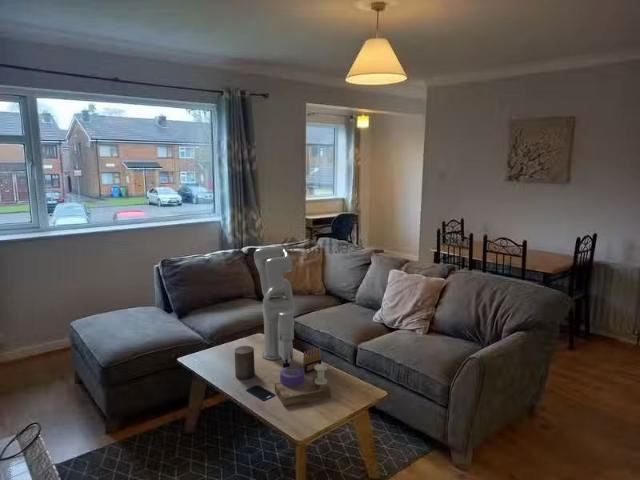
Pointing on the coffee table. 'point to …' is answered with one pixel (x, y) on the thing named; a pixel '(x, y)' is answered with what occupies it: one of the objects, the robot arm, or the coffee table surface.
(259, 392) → the cell phone
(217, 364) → the coffee table surface
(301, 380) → the tape roll
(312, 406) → the coffee table surface
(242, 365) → the pillar candle
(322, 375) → the doorknob
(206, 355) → the coffee table surface
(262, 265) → the robot arm
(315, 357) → the ammunition clip
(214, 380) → the coffee table surface
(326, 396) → the u-shaped wooden bracket
